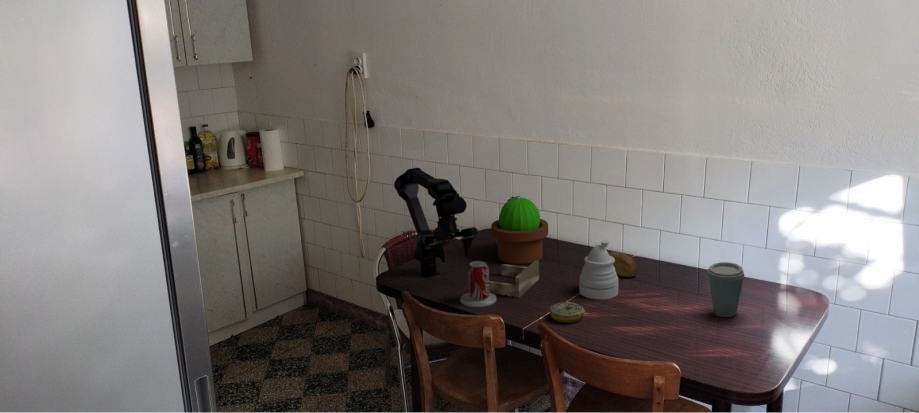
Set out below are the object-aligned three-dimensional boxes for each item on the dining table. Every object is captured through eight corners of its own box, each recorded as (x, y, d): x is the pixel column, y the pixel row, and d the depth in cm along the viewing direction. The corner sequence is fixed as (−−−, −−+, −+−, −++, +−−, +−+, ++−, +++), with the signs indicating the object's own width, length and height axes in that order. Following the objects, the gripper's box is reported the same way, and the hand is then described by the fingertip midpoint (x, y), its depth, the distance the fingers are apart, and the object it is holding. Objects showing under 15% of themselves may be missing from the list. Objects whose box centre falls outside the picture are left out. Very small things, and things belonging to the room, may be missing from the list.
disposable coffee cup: (738, 322, 206) (741, 275, 202) (701, 316, 212) (703, 270, 208) (745, 309, 215) (748, 264, 211) (709, 303, 220) (711, 259, 216)
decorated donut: (590, 316, 216) (590, 304, 215) (571, 327, 209) (571, 316, 208) (563, 308, 223) (562, 297, 222) (543, 319, 216) (543, 307, 215)
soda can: (481, 303, 228) (479, 268, 224) (464, 298, 232) (463, 264, 229) (494, 296, 233) (493, 262, 230) (477, 292, 237) (476, 258, 234)
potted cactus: (551, 265, 261) (550, 201, 255) (493, 268, 262) (491, 204, 255) (545, 247, 282) (544, 187, 276) (491, 249, 283) (489, 190, 276)
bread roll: (629, 282, 241) (629, 260, 239) (592, 273, 251) (592, 252, 249) (642, 274, 248) (642, 253, 246) (605, 266, 258) (605, 245, 256)
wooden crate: (481, 291, 239) (480, 272, 237) (502, 274, 255) (502, 256, 253) (519, 297, 233) (518, 277, 231) (539, 279, 248) (538, 260, 247)
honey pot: (621, 287, 237) (622, 237, 233) (613, 301, 226) (613, 249, 221) (585, 283, 243) (584, 234, 238) (574, 296, 231) (574, 245, 227)
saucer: (453, 299, 234) (453, 297, 234) (482, 290, 240) (482, 288, 240) (474, 310, 224) (474, 308, 224) (503, 300, 231) (503, 298, 230)
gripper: (412, 223, 237) (421, 268, 237) (460, 213, 229) (470, 259, 229) (427, 220, 247) (436, 263, 247) (473, 210, 239) (483, 254, 239)
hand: (455, 260), depth 240 cm, fingers open, 9 cm apart
